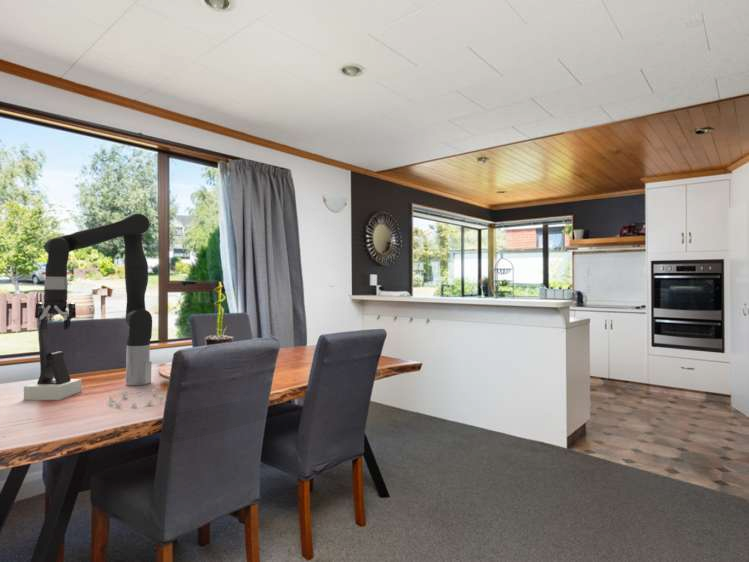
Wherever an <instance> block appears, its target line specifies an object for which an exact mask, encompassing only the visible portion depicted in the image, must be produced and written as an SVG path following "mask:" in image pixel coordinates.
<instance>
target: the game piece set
mask: <svg viewBox="0 0 749 562" xmlns="http://www.w3.org/2000/svg"><path fill="white" fill-rule="evenodd" d="M151 392H152V396H153V397H155V396H156V394H157V393H156V392H157V390H156V388H152V390H151ZM120 394H121V396H122V399H120V400H119V401H118V402H117V401H115V399H114V397H116V393H114V394H113V396H111V395H110V396H109V397H108V403H106V405H107V406H108V407H110V406H115V407H116V408H122V403H121V402H122V401H123V399H126V397H127V396H128V395H127V392H126V390H122V391H121V393H120ZM143 394H144V392H141V393H139V394H138V395H137V397H142V395H143ZM157 398H158V401H157V402H158V403H162V402H163V398H164V395H163V394H162V393H161V394H160V395H158V396H157ZM114 403H115V404H114ZM145 404H146V405H148V406H151V404H153V400H152V398H151V399H149V401H147V402H146V403H145ZM130 408H131V409H136V408H137V404H136V403H135V402H131V406H130Z"/></svg>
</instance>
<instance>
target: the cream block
mask: <svg viewBox="0 0 749 562" xmlns="http://www.w3.org/2000/svg"><path fill="white" fill-rule="evenodd" d="M53 380H55V378H53ZM70 380H71V381H69V382H66V383H63V384H37V382H33V383H30V384H27V385H24V386H23V401H26V400H27V401H29V400H30V401H60V400H62V399H64V398H65V399H66V398H68V397H70V396H72V395H73V396H74V395H75V394H78V393H80V392H82V385H83V384H82V383H83V382H82V379H81V378H70Z"/></svg>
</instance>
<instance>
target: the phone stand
mask: <svg viewBox="0 0 749 562" xmlns="http://www.w3.org/2000/svg"><path fill="white" fill-rule="evenodd" d="M53 379H55V380H53ZM70 379H71V378H70V374H69V371H68V369H67V365H66V362H65V359H64V352H63V351H62V350H60V351H59V350H57V351H53V352H48V353H47V354H46V355H45V362H44V364H43V368H42V371H41V372H40V375H39V378H38V380H37V382H36V383H37V384H63V383H66V382H69V381H71V380H70Z"/></svg>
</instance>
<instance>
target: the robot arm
mask: <svg viewBox="0 0 749 562" xmlns="http://www.w3.org/2000/svg"><path fill="white" fill-rule="evenodd" d="M149 228H150V220H149V218H148V217H147V216H145V215H144V214H142V213H132V214H128V215H126V216H125V217H124V218H123V219H121V220H119V221H116V222H112V223H109V224H108V223H107V224H104V225H99V226H96V227H90V228H86V229H83V230H79V231H75V232H73V233H71V234H67V235H61V236H57V237H52V238H50V239H47V241H45V243H44V250H45V252H46V253H47V254H48V255H47V263H46V264H45V272H44V273H45V274H44V284H43V285H44V288H43V289H44V290H43V299H44V302H36V303H35V310H34V311H35V313H34V318H35V319H39V320H40V329H41V330H47V329H48V319H47V318H48V317H49V316H51V315H60V316H61V317H62V318H63V319H64V320H63V329H64V330H70V328H71V320H72V319H75V318H76V317H77V315H76V313H77V312H76V310H77V309H76V303H75V302H70V303H68V302H67V301H68V288H69V287H68V283H69V281H68V261H69V257H70V252H73V251H76V250H81V249H86V248H89V247H93V246H96V245H99V244H102V243H105V242H108V241H111V240H114V239H117V238H121V237H123V242H124V282H125V283H124V284H125V291H126V306H125V307H126V309H125V322H126V325H127V326H128V327H129V328H128V337H127V339H126V359H125V361H126V363H125V364H126V365H125V366H126V367H125V385H126V386H145V385H147V384H149V383H152V361H151V360H150V359H151V357H150V356H151V355H150V354H151V351H150V350H151V340H152V333H153V316H152V313H150V312H149V310H147V309H146V308H147V307H146V301H145V297H146V291H147V288H148V287H147V286H148V283H149V265H148V261H147V257H146V253H145V251H144V249H143V234H145V233H146V232H147V231H148V230H149ZM44 308H45V309H44ZM67 309H68V310H67Z"/></svg>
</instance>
